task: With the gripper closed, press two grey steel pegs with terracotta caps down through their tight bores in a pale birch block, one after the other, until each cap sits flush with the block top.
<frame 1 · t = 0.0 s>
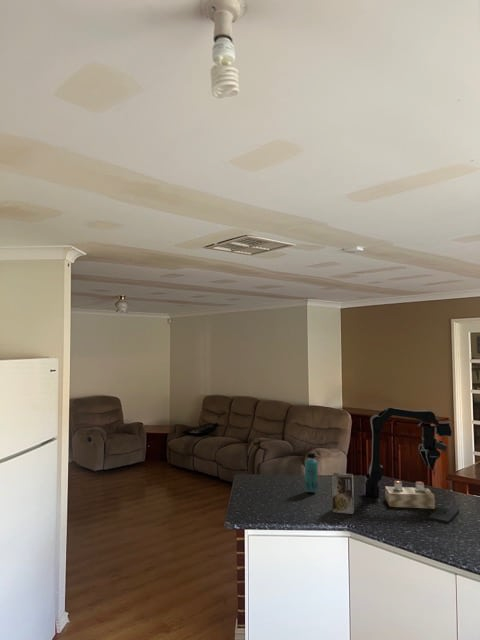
hand: (429, 467, 232), 15 cm above the countertop, tool pointing down, fingers open, 9 cm apart
beverage bottle: (311, 493, 239), on the countertop
smart home device: (444, 517, 205), on the countertop
birch block: (409, 503, 222), on the countertop
coffee box: (343, 511, 211), on the countertop
steel peg 2: (419, 488, 222), point 7 cm above the countertop, slide at 4.0 cm
steel peg 1: (398, 487, 223), point 7 cm above the countertop, slide at 4.0 cm
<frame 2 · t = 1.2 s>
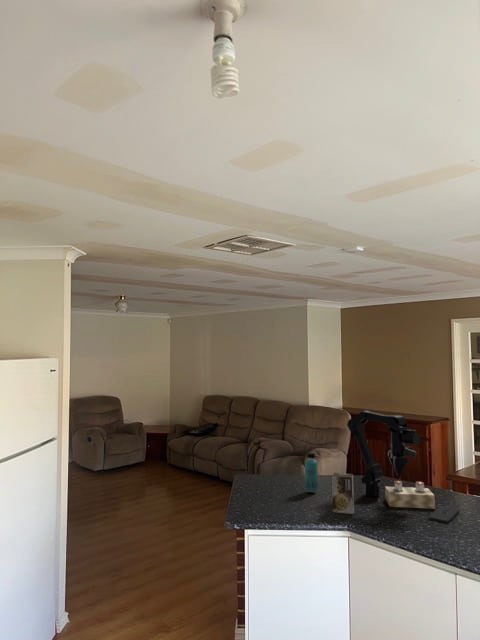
hand: (398, 475, 224), 13 cm above the countertop, tool pointing down, fingers open, 7 cm apart
nothing on the countertop moved.
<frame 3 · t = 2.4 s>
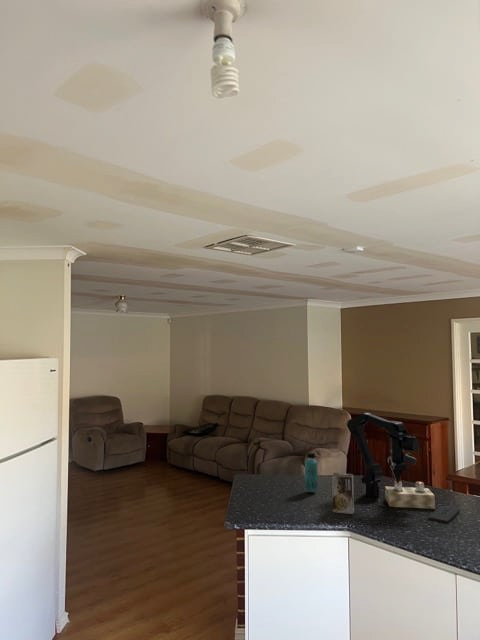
hand: (397, 481, 223), 10 cm above the countertop, tool pointing down, fingers closed, pressing on steel peg 1
steel peg 1: (398, 488, 223), point 7 cm above the countertop, slide at 3.9 cm, touching gripper
everything else where it was.
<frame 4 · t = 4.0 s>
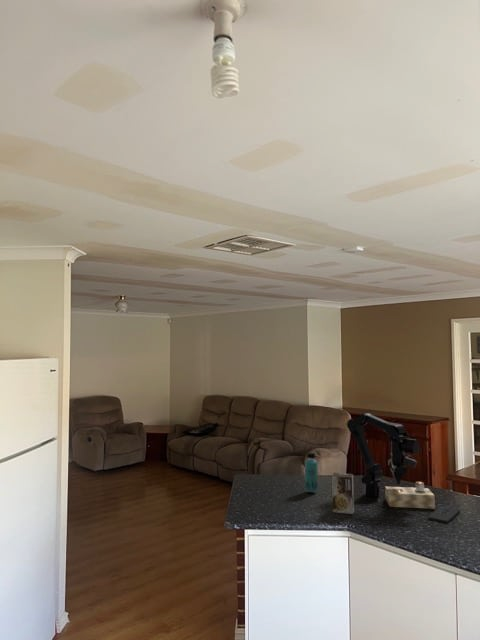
hand: (398, 484, 223), 9 cm above the countertop, tool pointing down, fingers closed
steel peg 1: (398, 496, 223), point 3 cm above the countertop, slide at 0.0 cm
everything else where it was.
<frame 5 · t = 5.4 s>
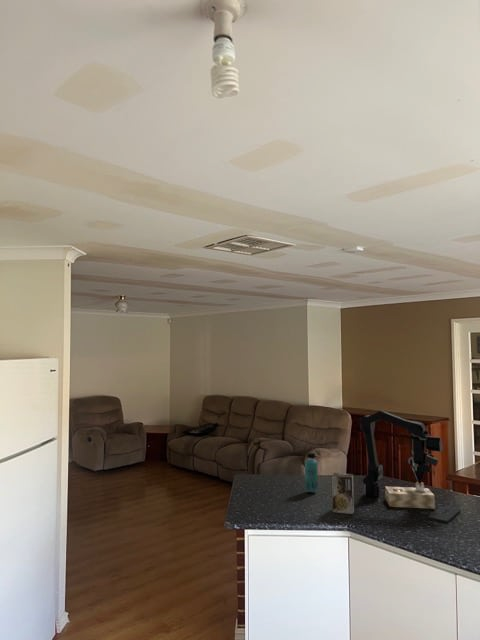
hand: (419, 482, 222), 10 cm above the countertop, tool pointing down, fingers closed, pressing on steel peg 2
steel peg 2: (419, 489, 222), point 7 cm above the countertop, slide at 3.8 cm, touching gripper
everything else where it was.
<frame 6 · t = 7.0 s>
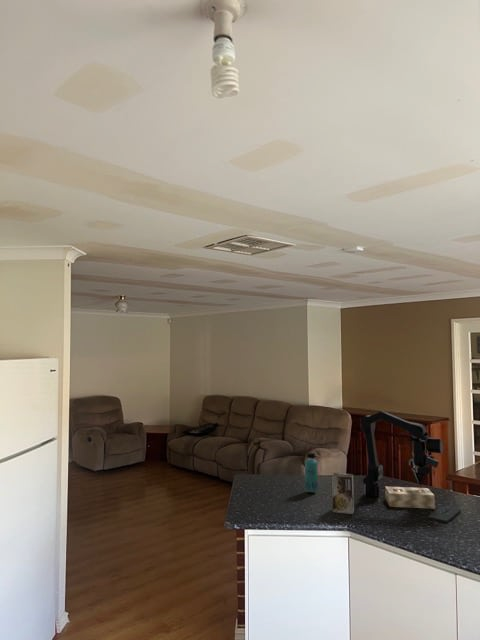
hand: (420, 484, 222), 9 cm above the countertop, tool pointing down, fingers closed
steel peg 2: (420, 497, 221), point 3 cm above the countertop, slide at 0.0 cm
everything else where it was.
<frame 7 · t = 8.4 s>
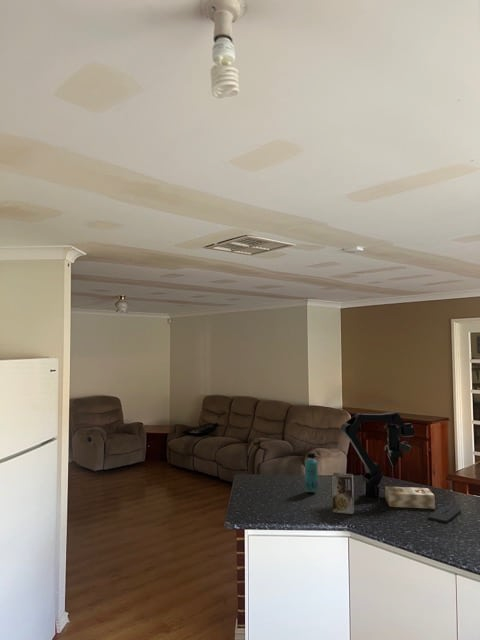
hand: (394, 468, 238), 13 cm above the countertop, tool pointing down, fingers closed
nothing on the countertop moved.
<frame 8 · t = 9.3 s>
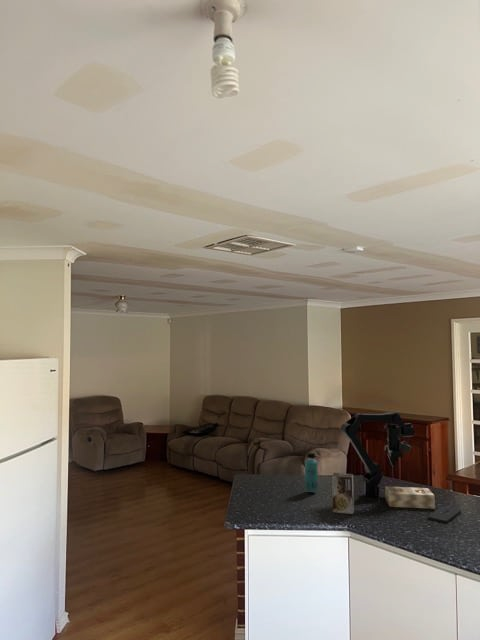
hand: (394, 468, 238), 13 cm above the countertop, tool pointing down, fingers closed
nothing on the countertop moved.
at the end: steel peg 1 slide at 0.0 cm; steel peg 2 slide at 0.0 cm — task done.
